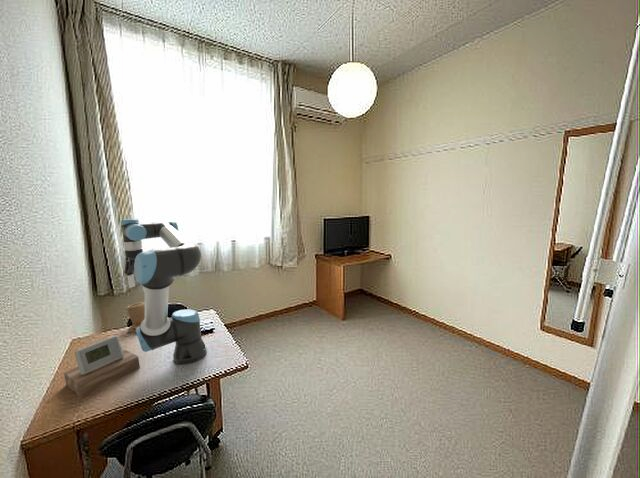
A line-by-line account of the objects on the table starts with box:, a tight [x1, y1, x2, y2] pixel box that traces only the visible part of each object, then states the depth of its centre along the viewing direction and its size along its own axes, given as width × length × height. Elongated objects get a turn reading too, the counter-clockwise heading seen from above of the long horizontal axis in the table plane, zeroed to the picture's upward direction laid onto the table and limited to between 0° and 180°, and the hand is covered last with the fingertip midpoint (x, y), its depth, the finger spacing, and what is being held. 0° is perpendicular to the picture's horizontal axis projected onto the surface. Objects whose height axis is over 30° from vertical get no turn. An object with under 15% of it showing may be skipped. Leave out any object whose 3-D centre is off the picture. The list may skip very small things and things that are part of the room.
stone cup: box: [126, 301, 145, 333], centre depth 170 cm, size 15×12×15 cm
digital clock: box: [74, 334, 124, 375], centre depth 123 cm, size 16×9×11 cm, turn 135°
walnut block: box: [63, 347, 141, 399], centre depth 125 cm, size 16×22×6 cm
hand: (139, 289), depth 146 cm, fingers open, 13 cm apart
